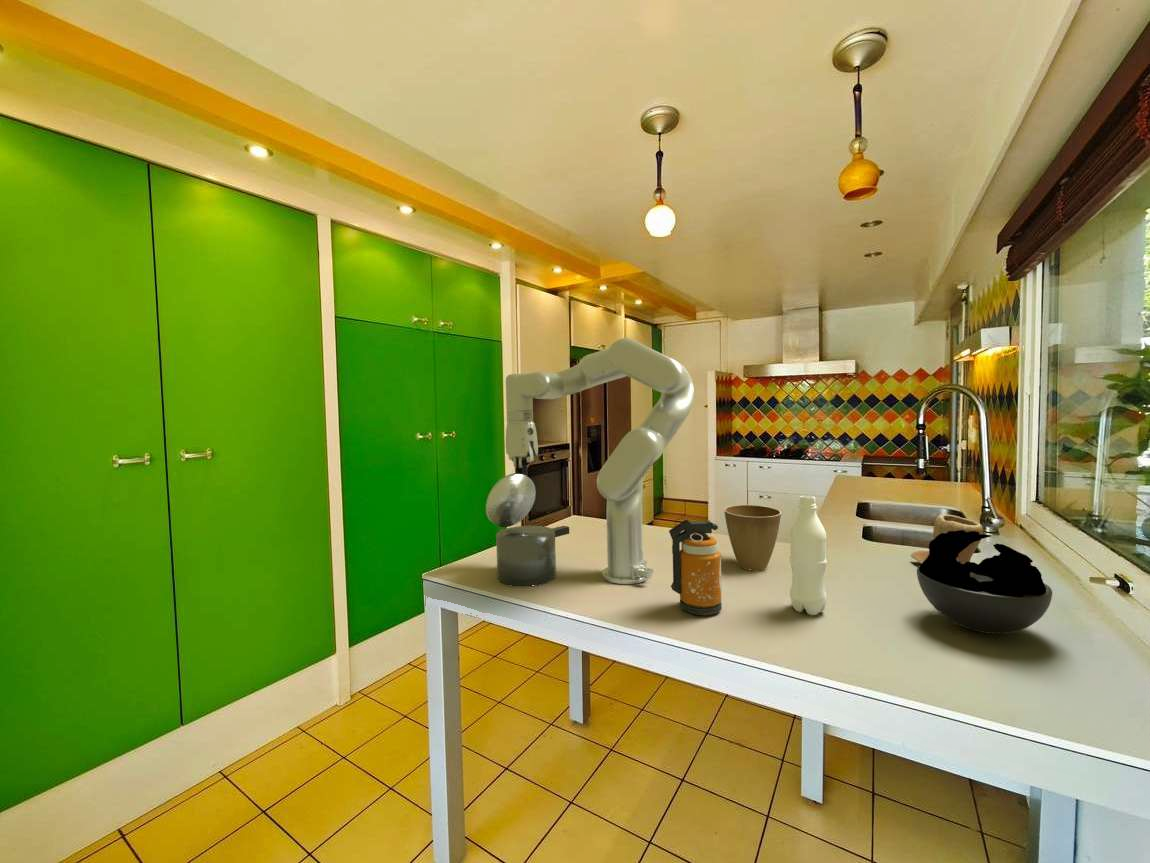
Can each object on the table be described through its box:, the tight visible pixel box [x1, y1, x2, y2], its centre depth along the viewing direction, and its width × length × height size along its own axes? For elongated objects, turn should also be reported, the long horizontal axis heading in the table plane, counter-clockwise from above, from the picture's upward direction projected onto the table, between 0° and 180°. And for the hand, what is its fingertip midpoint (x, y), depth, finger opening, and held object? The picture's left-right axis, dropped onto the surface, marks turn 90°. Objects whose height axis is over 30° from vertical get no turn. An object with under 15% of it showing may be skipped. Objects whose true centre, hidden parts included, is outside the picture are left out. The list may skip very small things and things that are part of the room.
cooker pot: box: [495, 525, 570, 587], centre depth 132 cm, size 18×23×12 cm
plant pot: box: [723, 504, 782, 571], centre depth 131 cm, size 15×15×16 cm
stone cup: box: [910, 513, 984, 565], centre depth 123 cm, size 15×12×15 cm
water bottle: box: [789, 495, 828, 616], centre depth 102 cm, size 7×7×25 cm
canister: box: [668, 519, 723, 616], centre depth 105 cm, size 9×11×20 cm
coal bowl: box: [916, 530, 1053, 634], centre depth 92 cm, size 20×20×19 cm
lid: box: [485, 472, 537, 528], centre depth 133 cm, size 16×16×3 cm
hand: (521, 480), depth 135 cm, fingers closed
